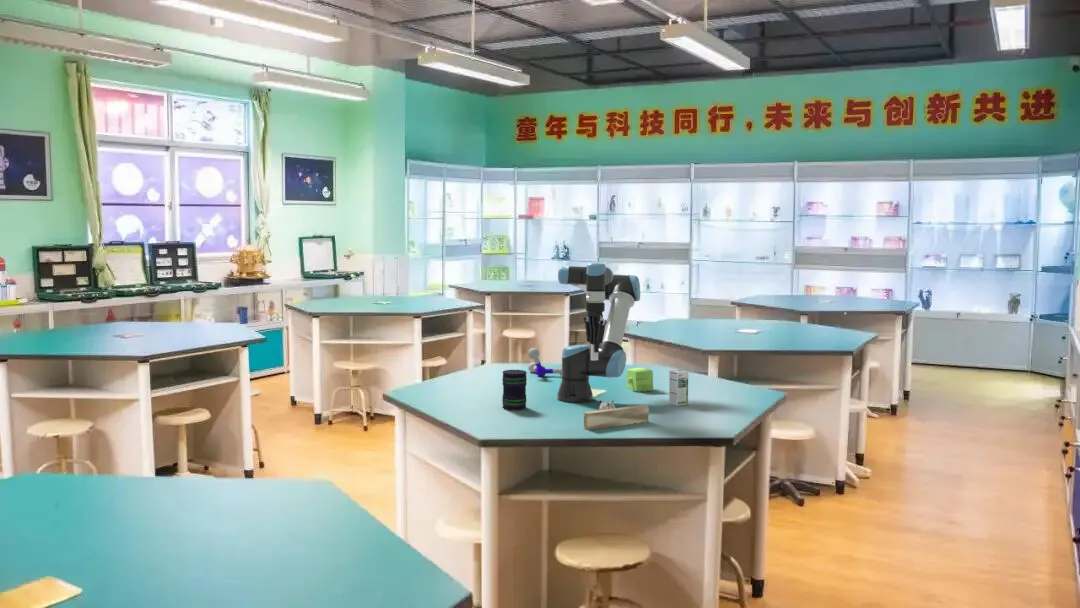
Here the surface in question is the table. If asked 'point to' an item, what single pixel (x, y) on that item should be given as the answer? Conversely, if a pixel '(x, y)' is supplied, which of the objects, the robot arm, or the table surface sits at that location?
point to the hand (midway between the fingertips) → (594, 360)
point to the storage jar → (514, 389)
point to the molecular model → (536, 366)
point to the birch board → (615, 417)
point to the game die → (606, 405)
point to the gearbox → (640, 379)
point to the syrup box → (678, 387)
